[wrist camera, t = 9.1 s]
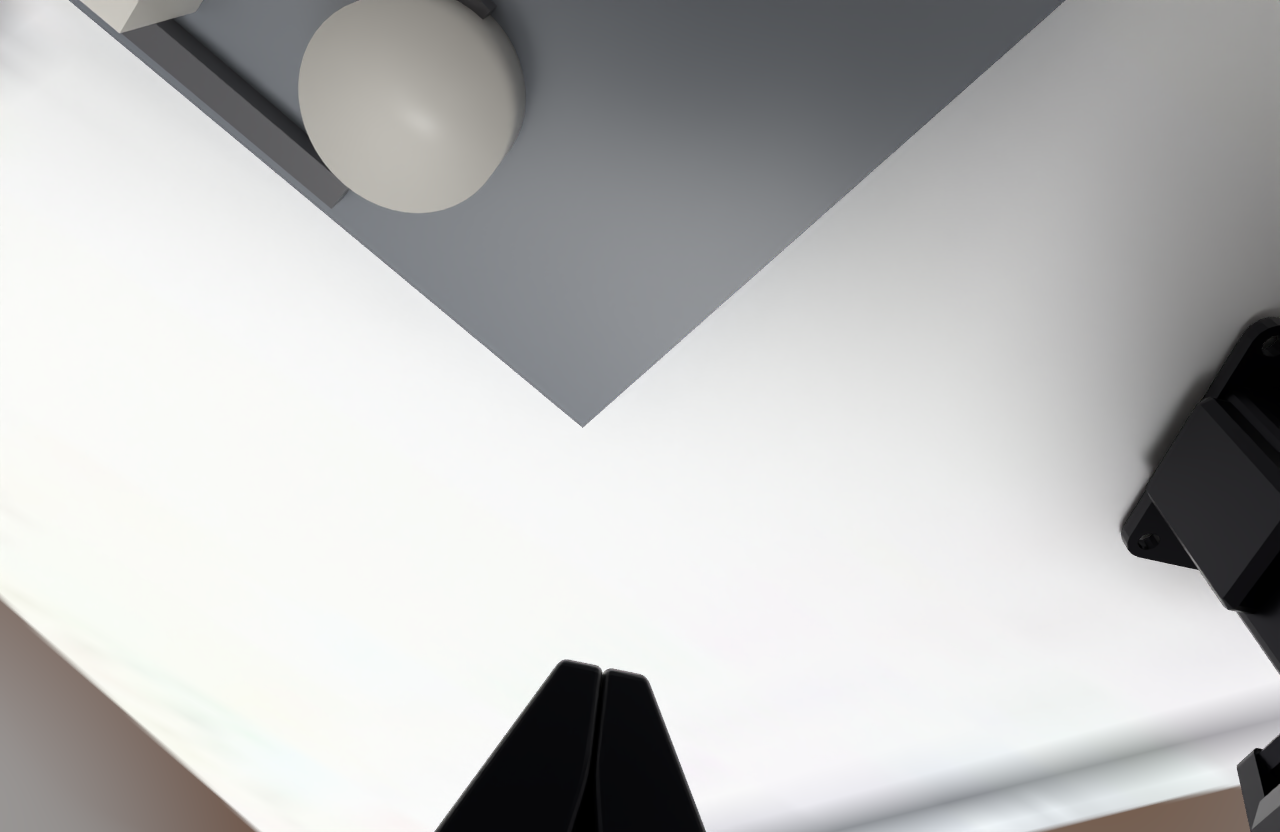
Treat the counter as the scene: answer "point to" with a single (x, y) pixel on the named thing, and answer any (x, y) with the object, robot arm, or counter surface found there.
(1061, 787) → the counter surface
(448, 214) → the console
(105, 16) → the slider
